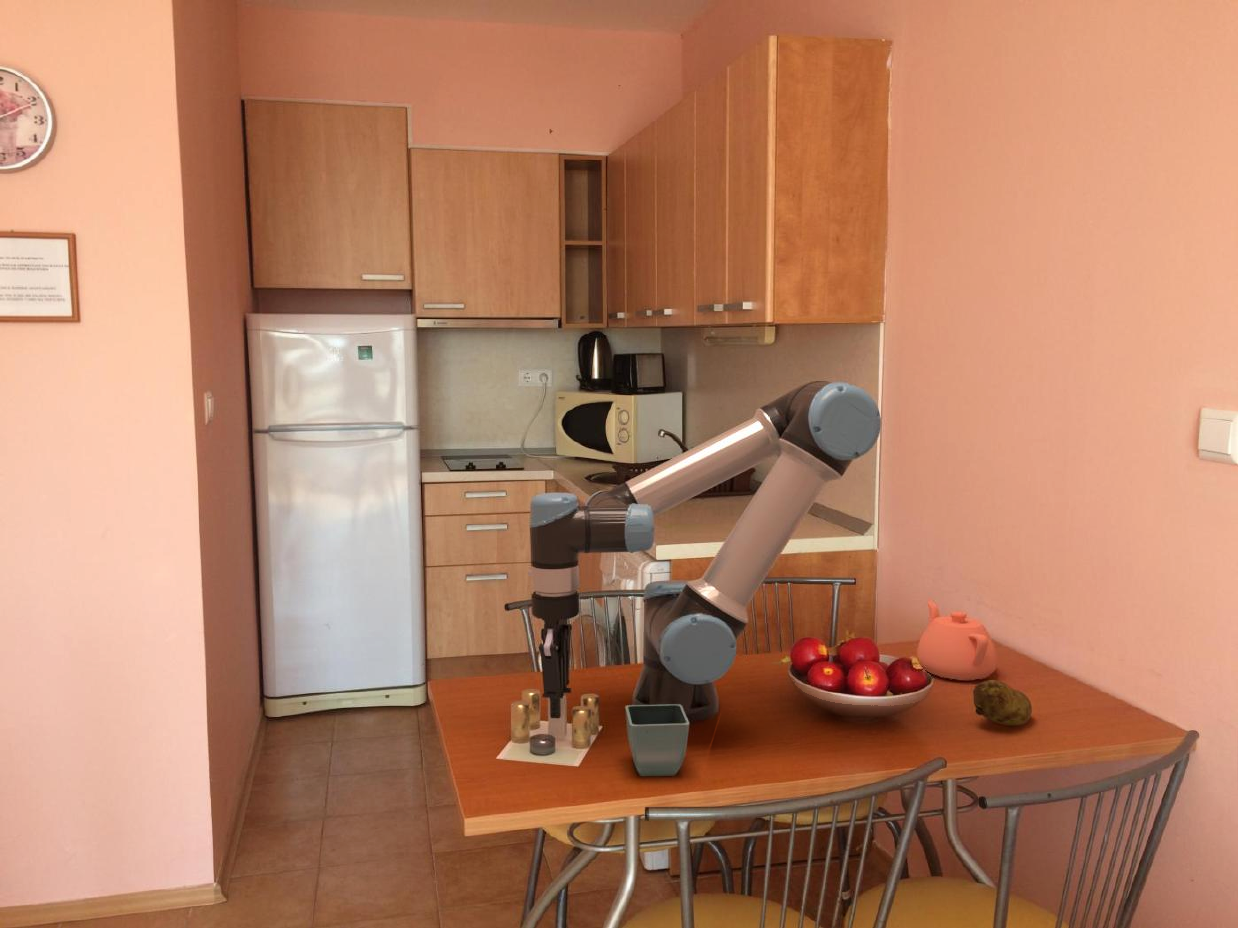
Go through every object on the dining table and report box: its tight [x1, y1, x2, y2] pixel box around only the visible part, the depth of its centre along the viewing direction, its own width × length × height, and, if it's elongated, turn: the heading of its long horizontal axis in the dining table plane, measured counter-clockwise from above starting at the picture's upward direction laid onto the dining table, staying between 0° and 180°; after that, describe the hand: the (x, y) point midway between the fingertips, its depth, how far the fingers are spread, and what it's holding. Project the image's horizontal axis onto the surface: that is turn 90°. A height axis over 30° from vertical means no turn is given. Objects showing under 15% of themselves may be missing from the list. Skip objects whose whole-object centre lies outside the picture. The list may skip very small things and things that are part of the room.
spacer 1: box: [510, 700, 530, 744], centre depth 165 cm, size 3×3×6 cm
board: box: [495, 720, 603, 767], centre depth 165 cm, size 13×17×1 cm
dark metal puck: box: [530, 734, 555, 756], centre depth 161 cm, size 4×4×2 cm
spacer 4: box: [571, 705, 592, 749], centre depth 163 cm, size 3×3×6 cm
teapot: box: [916, 599, 998, 681], centre depth 205 cm, size 22×15×12 cm
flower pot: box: [624, 704, 690, 777], centre depth 155 cm, size 9×9×9 cm
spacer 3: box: [580, 693, 600, 735], centre depth 169 cm, size 3×3×6 cm
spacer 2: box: [521, 688, 541, 730], centre depth 171 cm, size 3×3×6 cm
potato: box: [972, 679, 1033, 727], centre depth 176 cm, size 8×13×8 cm, turn 109°
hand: (557, 734), depth 166 cm, fingers closed
